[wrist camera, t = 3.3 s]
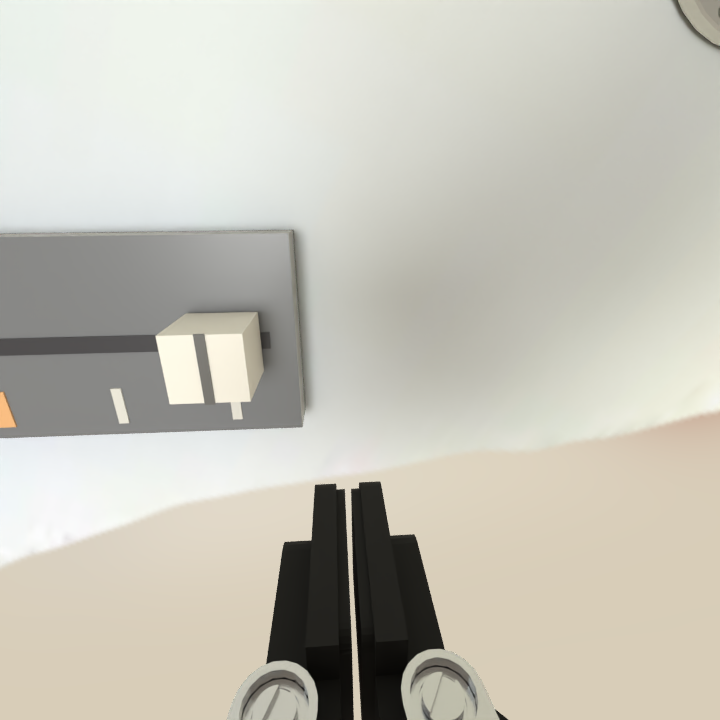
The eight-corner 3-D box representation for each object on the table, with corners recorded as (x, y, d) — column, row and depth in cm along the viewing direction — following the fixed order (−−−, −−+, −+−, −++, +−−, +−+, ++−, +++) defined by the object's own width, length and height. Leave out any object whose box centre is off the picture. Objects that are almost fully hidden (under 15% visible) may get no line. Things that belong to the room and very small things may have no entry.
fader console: (293, 229, 24) (288, 233, 21) (305, 408, 28) (302, 428, 26) (-98, 234, 23) (-150, 239, 20) (-21, 419, 27) (-56, 441, 25)
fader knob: (257, 310, 22) (241, 333, 19) (264, 371, 24) (250, 403, 20) (185, 312, 22) (154, 335, 18) (196, 373, 24) (169, 406, 20)
